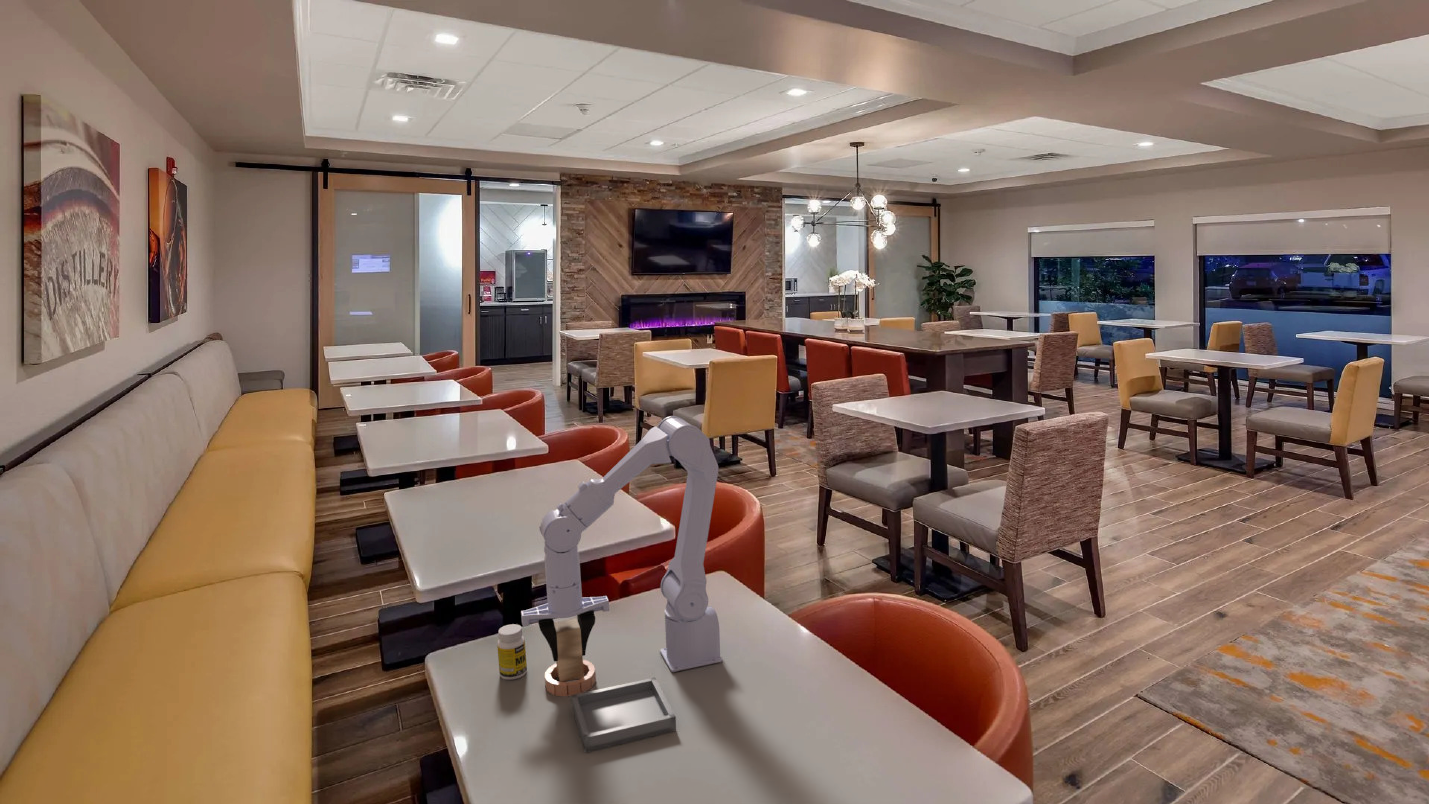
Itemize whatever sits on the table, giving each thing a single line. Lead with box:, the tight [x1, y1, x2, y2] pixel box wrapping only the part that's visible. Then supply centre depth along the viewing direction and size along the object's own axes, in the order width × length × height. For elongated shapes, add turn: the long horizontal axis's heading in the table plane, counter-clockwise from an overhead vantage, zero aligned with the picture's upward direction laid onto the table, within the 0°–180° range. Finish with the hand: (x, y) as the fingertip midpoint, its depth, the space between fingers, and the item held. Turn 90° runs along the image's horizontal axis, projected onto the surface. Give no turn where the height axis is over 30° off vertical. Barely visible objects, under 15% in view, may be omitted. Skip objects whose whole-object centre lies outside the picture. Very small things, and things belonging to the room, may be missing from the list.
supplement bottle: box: [496, 623, 528, 680], centre depth 132 cm, size 5×5×8 cm
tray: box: [570, 677, 677, 753], centre depth 118 cm, size 14×12×2 cm
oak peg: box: [554, 618, 585, 682], centre depth 128 cm, size 4×4×9 cm
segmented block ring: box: [544, 659, 597, 697], centre depth 129 cm, size 8×8×2 cm
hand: (569, 655), depth 128 cm, fingers closed on oak peg, 4 cm apart
